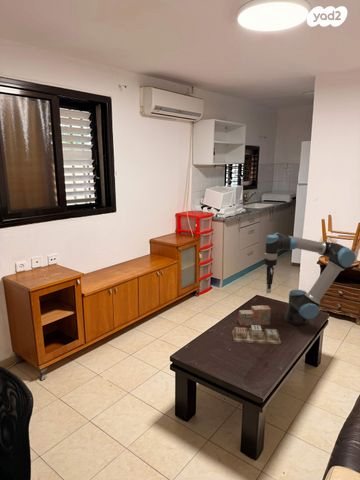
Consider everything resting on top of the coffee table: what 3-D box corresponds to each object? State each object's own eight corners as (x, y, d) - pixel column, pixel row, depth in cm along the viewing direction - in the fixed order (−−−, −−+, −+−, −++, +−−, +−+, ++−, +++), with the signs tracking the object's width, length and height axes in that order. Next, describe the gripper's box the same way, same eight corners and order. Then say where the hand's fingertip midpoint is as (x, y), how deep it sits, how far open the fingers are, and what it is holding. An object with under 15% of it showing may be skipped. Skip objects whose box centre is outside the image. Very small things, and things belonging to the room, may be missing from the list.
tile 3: (244, 333, 218) (244, 328, 217) (245, 337, 212) (245, 332, 212) (235, 332, 219) (235, 327, 218) (236, 337, 213) (236, 332, 212)
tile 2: (260, 330, 217) (260, 325, 216) (261, 335, 211) (261, 329, 210) (250, 329, 217) (251, 324, 216) (251, 334, 211) (252, 329, 211)
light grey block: (275, 334, 216) (275, 329, 215) (276, 339, 210) (277, 334, 210) (266, 334, 217) (266, 329, 216) (267, 338, 211) (267, 333, 210)
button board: (277, 334, 219) (277, 328, 218) (280, 344, 208) (281, 337, 207) (232, 332, 222) (232, 325, 221) (233, 341, 211) (233, 334, 209)
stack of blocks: (240, 326, 231) (241, 310, 228) (238, 322, 237) (239, 306, 234) (269, 324, 233) (271, 308, 230) (266, 320, 239) (267, 305, 236)
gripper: (263, 255, 218) (261, 288, 224) (266, 261, 206) (264, 296, 211) (274, 256, 218) (272, 289, 223) (278, 261, 205) (276, 296, 210)
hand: (268, 292), depth 217 cm, fingers closed
